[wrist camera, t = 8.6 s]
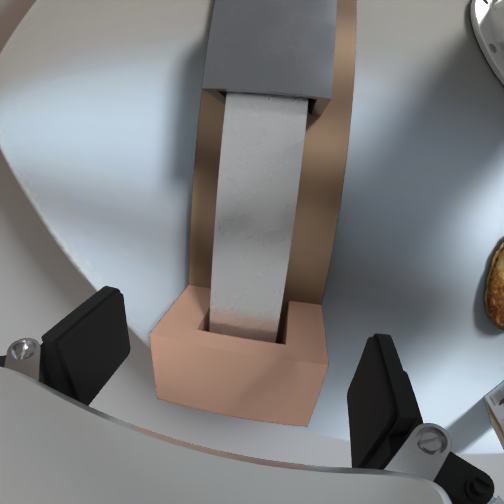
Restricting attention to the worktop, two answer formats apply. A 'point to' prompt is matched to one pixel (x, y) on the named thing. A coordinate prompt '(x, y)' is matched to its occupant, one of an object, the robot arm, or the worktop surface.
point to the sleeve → (272, 49)
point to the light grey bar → (255, 212)
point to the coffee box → (496, 410)
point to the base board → (310, 185)
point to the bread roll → (496, 289)
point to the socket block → (239, 363)
